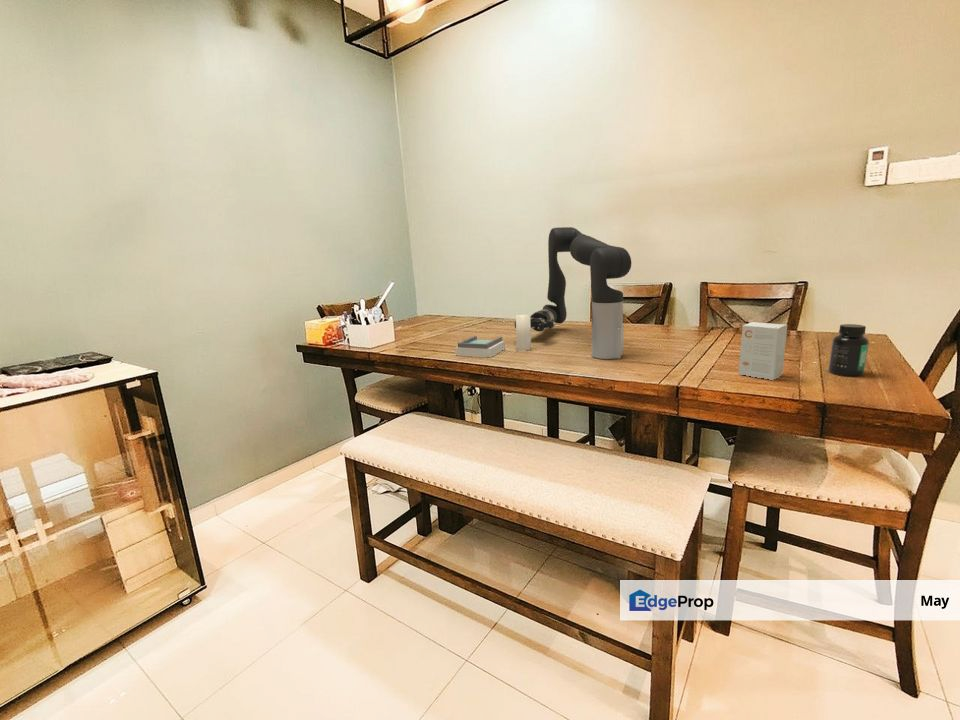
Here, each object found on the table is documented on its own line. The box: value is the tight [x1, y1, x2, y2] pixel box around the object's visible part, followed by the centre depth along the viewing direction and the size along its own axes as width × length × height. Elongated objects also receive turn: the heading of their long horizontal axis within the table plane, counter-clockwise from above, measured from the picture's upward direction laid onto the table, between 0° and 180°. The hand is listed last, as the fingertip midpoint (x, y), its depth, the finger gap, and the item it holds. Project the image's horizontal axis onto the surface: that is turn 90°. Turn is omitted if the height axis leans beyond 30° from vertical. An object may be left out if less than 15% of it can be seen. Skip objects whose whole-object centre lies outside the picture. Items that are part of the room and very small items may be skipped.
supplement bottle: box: [828, 323, 870, 378], centre depth 108 cm, size 7×7×12 cm
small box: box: [738, 321, 788, 381], centre depth 110 cm, size 8×6×13 cm
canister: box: [515, 313, 532, 351], centre depth 153 cm, size 5×5×12 cm
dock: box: [454, 335, 506, 359], centre depth 153 cm, size 13×13×4 cm
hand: (528, 327), depth 157 cm, fingers open, 8 cm apart
